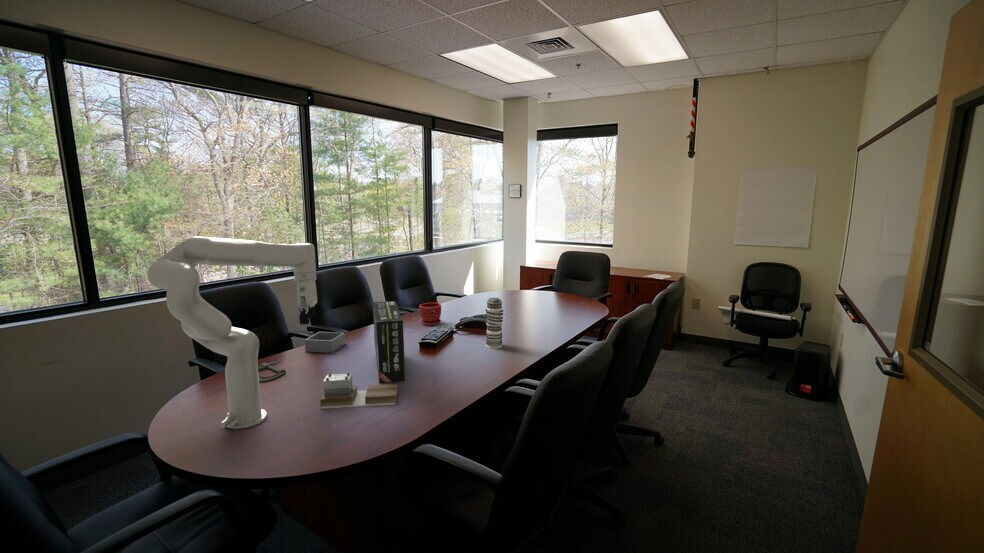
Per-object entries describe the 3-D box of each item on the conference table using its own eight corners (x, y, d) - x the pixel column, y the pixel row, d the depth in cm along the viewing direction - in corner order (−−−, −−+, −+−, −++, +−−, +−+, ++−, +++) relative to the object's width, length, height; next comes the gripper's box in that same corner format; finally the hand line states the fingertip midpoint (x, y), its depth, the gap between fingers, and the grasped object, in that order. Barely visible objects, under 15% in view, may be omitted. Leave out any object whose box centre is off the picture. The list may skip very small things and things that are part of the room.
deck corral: (332, 352, 216) (331, 341, 215) (305, 351, 218) (304, 339, 217) (345, 343, 230) (344, 332, 229) (319, 342, 231) (319, 331, 230)
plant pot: (433, 319, 279) (433, 301, 277) (445, 324, 269) (445, 304, 267) (415, 323, 271) (415, 304, 269) (427, 327, 261) (426, 308, 259)
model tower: (497, 349, 223) (497, 301, 219) (481, 346, 227) (482, 299, 223) (506, 345, 230) (506, 298, 226) (491, 342, 235) (491, 296, 231)
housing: (349, 395, 162) (349, 378, 161) (324, 396, 161) (323, 379, 160) (352, 388, 168) (351, 372, 167) (327, 389, 167) (326, 373, 166)
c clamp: (238, 372, 192) (238, 366, 191) (279, 362, 204) (279, 357, 204) (256, 386, 178) (255, 379, 178) (299, 374, 191) (298, 368, 190)
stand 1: (352, 404, 160) (352, 397, 160) (320, 406, 159) (320, 399, 158) (357, 391, 171) (356, 385, 171) (327, 393, 170) (327, 387, 169)
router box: (374, 355, 213) (372, 301, 208) (397, 353, 216) (396, 300, 212) (378, 384, 179) (376, 320, 175) (406, 381, 182) (404, 318, 178)
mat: (397, 389, 174) (397, 388, 174) (395, 404, 162) (395, 403, 162) (328, 393, 171) (328, 392, 171) (320, 408, 158) (320, 407, 158)
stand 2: (396, 402, 163) (395, 395, 162) (365, 404, 161) (365, 397, 161) (398, 389, 173) (397, 383, 173) (369, 391, 172) (368, 385, 171)
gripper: (309, 280, 157) (312, 326, 160) (321, 272, 174) (323, 314, 177) (287, 280, 156) (290, 327, 159) (301, 272, 173) (303, 315, 176)
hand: (308, 320), depth 168 cm, fingers open, 9 cm apart
